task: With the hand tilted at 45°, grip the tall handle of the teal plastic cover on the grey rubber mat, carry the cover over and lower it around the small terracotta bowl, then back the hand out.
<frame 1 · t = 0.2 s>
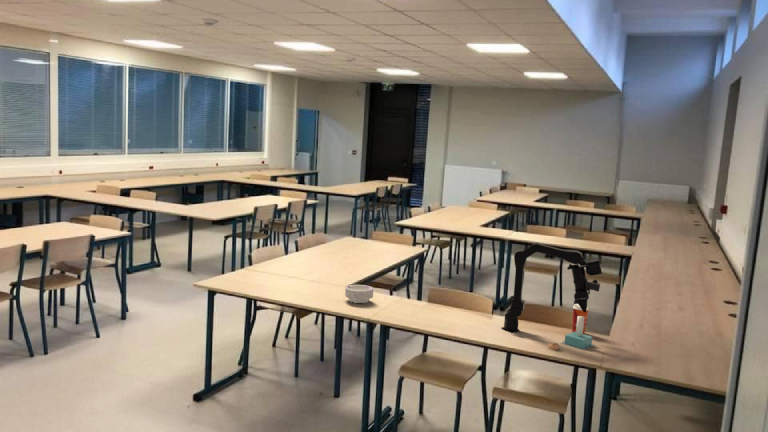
hand: (585, 310, 289), 15 cm above the table, tool tilted 15°, fingers open, 9 cm apart
grey mat: (577, 344, 285), on the table
light grey bowl: (358, 302, 335), on the table
paper cup: (578, 333, 303), on the table
terracotta bowl: (553, 349, 276), on the table
teal cover: (578, 344, 285), resting on grey mat
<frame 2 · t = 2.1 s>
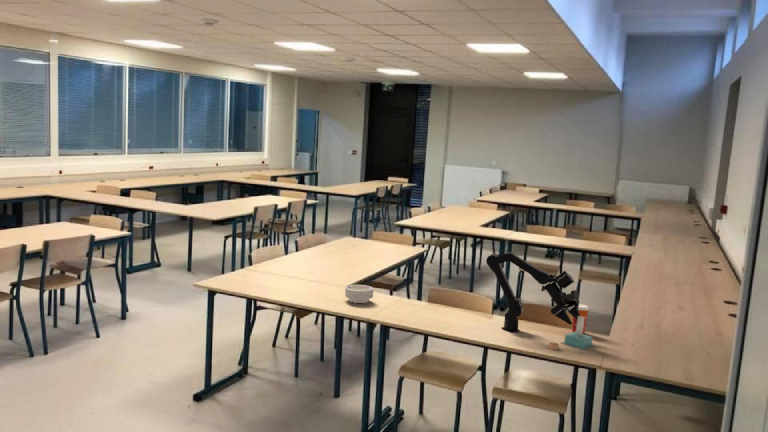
hand: (575, 322, 285), 10 cm above the table, tool tilted 45°, fingers open, 9 cm apart
nothing on the table moved.
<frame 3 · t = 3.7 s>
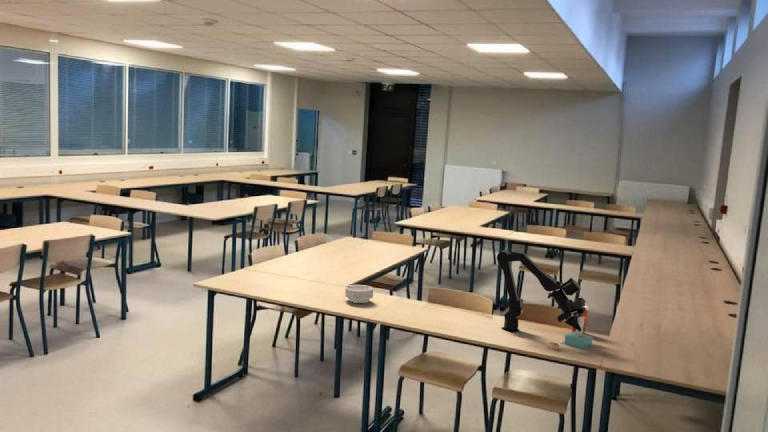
hand: (582, 330, 283), 7 cm above the table, tool tilted 45°, fingers closed on teal cover, 3 cm apart
teal cover: (578, 344, 285), resting on grey mat, touching gripper
everything else where it was.
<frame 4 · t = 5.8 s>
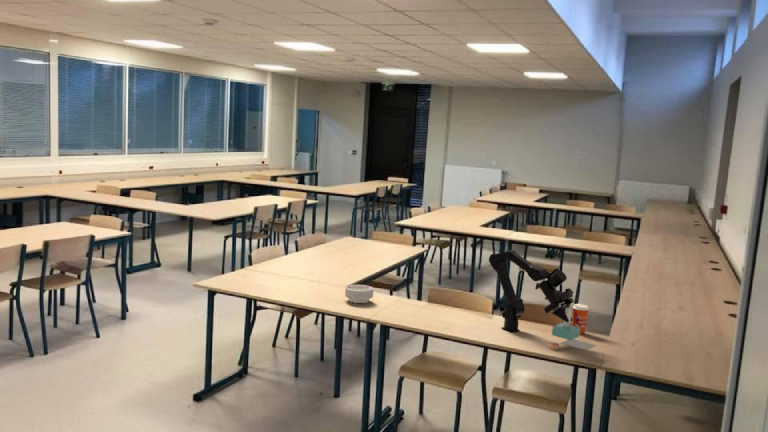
hand: (570, 321, 278), 12 cm above the table, tool tilted 45°, fingers closed on teal cover, 3 cm apart
teal cover: (565, 335, 280), point 5 cm above the table, touching gripper
everything else where it was.
when the fingers open (8 cm above the table, at t = 7.7 s): teal cover drops 1 cm, on the table.
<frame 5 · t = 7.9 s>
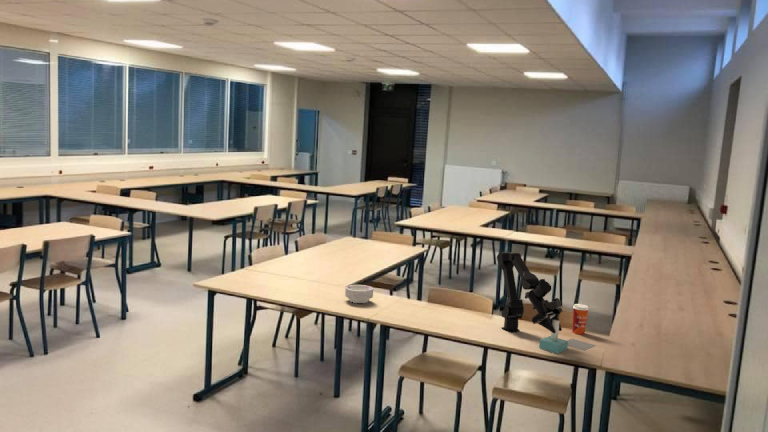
hand: (557, 331, 274), 8 cm above the table, tool tilted 45°, fingers open, 5 cm apart
teal cover: (553, 348, 276), on the table
everything else where it was.
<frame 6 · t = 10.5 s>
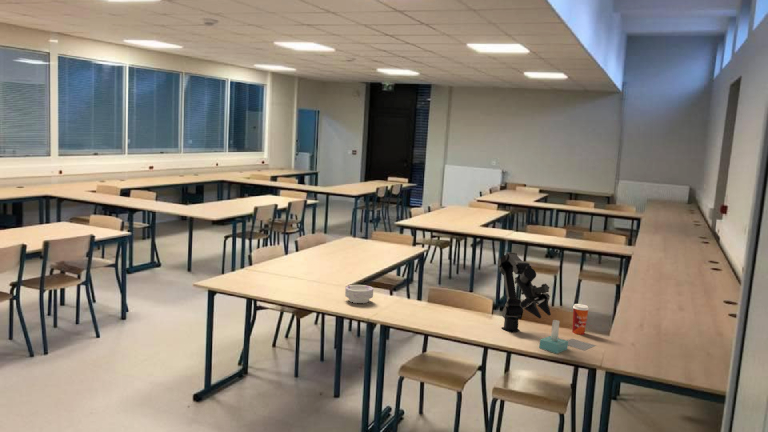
hand: (545, 316, 279), 14 cm above the table, tool tilted 45°, fingers open, 9 cm apart
nothing on the table moved.
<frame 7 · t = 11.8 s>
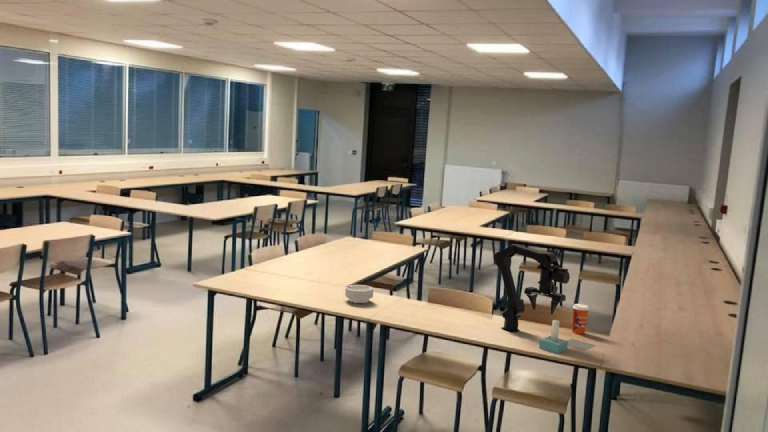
hand: (542, 312, 288), 13 cm above the table, tool pointing down, fingers open, 9 cm apart
nothing on the table moved.
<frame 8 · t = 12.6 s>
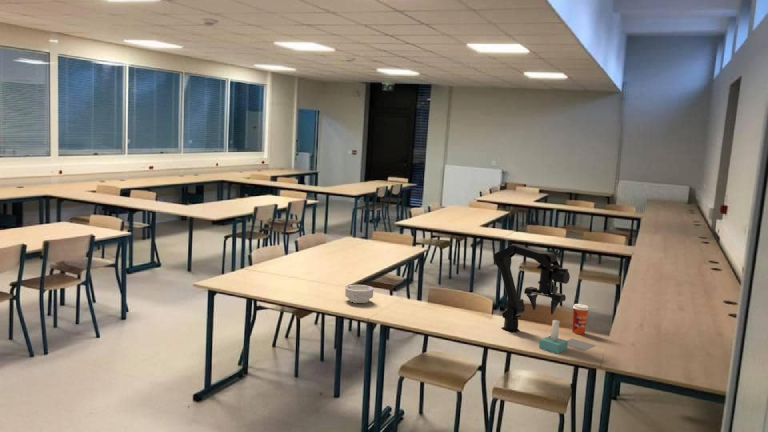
hand: (542, 312, 288), 13 cm above the table, tool pointing down, fingers open, 9 cm apart
nothing on the table moved.
at the end: teal cover 0.0 cm from the terracotta bowl (horizontally); teal cover on the table; teal cover tilted 0° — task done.
